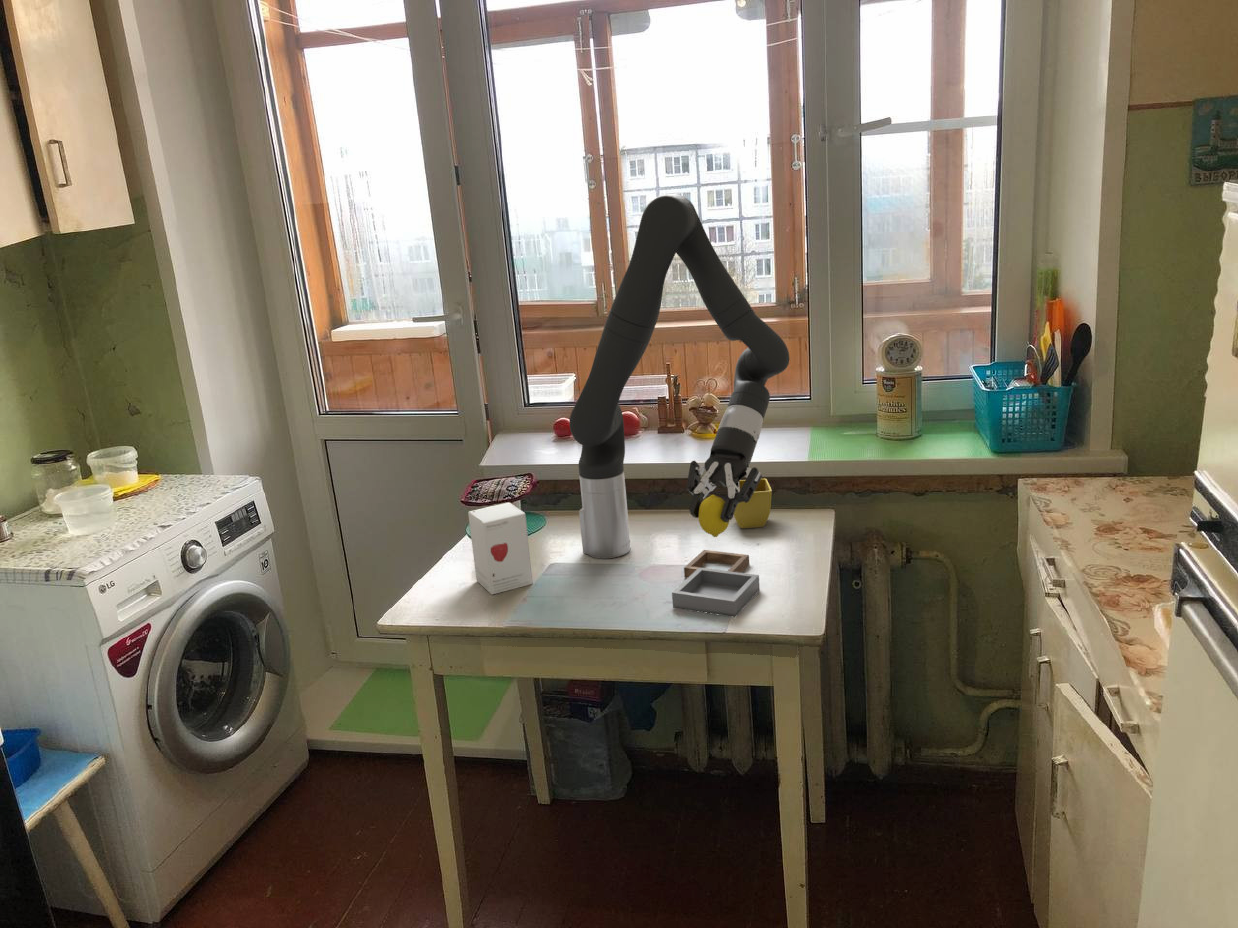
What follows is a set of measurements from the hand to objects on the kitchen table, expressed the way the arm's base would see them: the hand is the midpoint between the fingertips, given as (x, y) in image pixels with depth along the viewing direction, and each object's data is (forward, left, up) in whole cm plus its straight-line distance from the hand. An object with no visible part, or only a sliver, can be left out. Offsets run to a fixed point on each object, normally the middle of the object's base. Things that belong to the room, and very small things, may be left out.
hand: (709, 517), depth 170 cm
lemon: (0, +2, -4) cm, 5 cm away
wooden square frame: (-5, +13, -16) cm, 21 cm away
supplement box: (-43, -5, -16) cm, 46 cm away
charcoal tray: (0, +1, -16) cm, 16 cm away
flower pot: (-8, +39, -16) cm, 43 cm away
